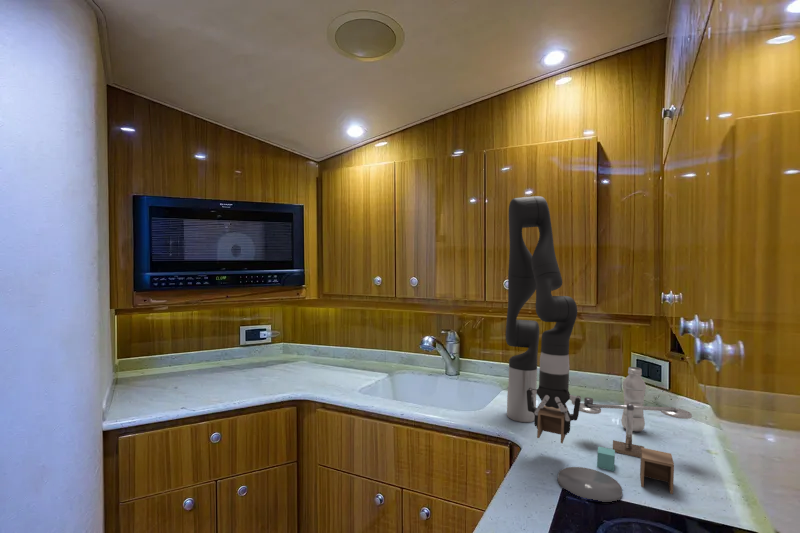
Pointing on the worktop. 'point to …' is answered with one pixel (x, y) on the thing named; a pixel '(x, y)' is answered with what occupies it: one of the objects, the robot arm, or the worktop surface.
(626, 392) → the plastic bottle
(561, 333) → the robot arm
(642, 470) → the empty cover
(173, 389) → the worktop surface
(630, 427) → the balance
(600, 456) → the teal block
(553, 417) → the hiding cover
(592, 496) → the slate dish
